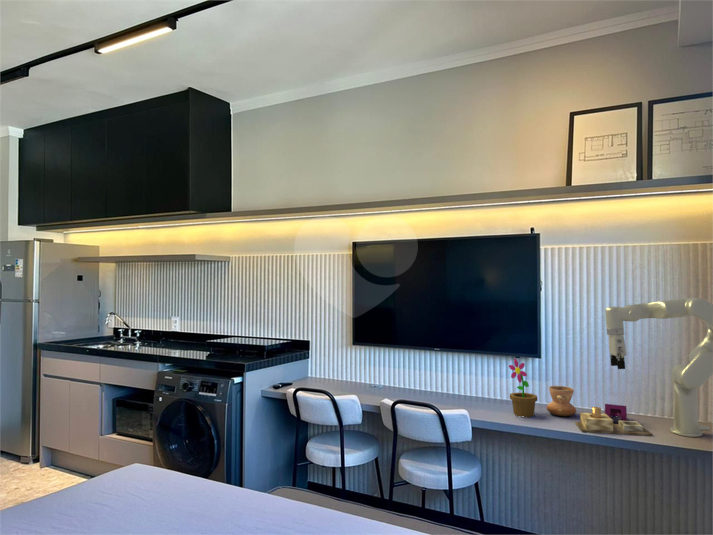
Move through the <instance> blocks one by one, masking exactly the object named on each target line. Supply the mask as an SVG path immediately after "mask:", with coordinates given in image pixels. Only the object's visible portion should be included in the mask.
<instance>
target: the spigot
mask: <svg viewBox="0 0 713 535" xmlns="http://www.w3.org/2000/svg"><path fill="white" fill-rule="evenodd" d="M591 413H592V418H601V414H602V407H599V406H591Z"/></svg>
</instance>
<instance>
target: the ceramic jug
mask: <svg viewBox="0 0 713 535" xmlns="http://www.w3.org/2000/svg"><path fill="white" fill-rule="evenodd" d="M548 389H549V394H550V397H551V399H552V401H551V402H549V403H548V404H547V405H546V410H547V411H548V412H549V413H550V414H552V415H555V416H558V417H570V416H573V415H575V414H576V413H577V408H576V407H575V406H574V405H573V404H572V403H571V400H572V398H573V394H574V392H575V391H574V388H572V387H568V386H564V385H550V386H549V387H548Z"/></svg>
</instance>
